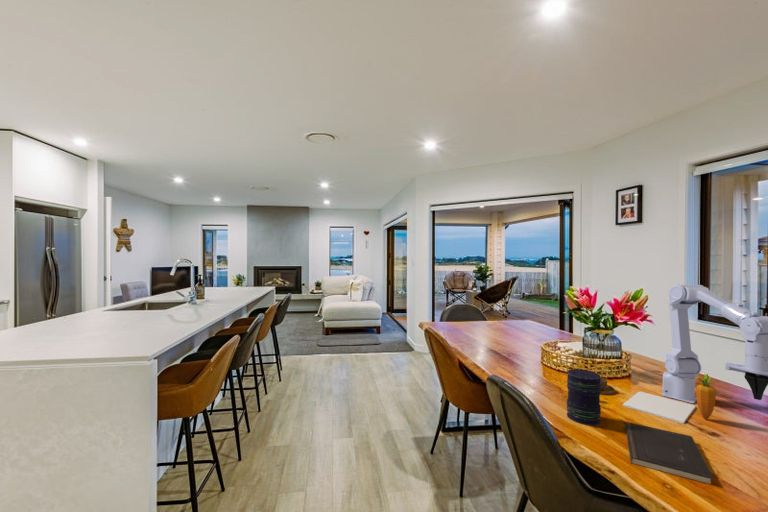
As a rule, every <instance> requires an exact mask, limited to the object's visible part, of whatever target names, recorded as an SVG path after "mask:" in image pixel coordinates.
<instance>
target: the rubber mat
mask: <svg viewBox="0 0 768 512" xmlns="http://www.w3.org/2000/svg"><path fill="white" fill-rule="evenodd" d="M696 406H697V405H694V404H692V403H690V404H689V403H688V402H684V401H680V400H676V399H672V398H669V397H665V396H658V395H656V394H652V393H648V392H644V391H638V392H637V393H635V394H634V395H633V396H631V397H630V398H629V399H627V400H626V401H625V402H624V403H623V404H622V407H624V408H628V409H631V410H635V411H638V412H642V413H644V414H648V415H651V416H655V417H658V418H663V419H665V420H668V421H672V422H676V423H678V424H679V423H680V424H682V425H685V423H686V421H687V420H688V419H689V417H690V416H691V415H692V413H693V412H694V411H695V409H696V408H697V407H696Z"/></svg>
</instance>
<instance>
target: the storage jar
mask: <svg viewBox="0 0 768 512" xmlns="http://www.w3.org/2000/svg"><path fill="white" fill-rule="evenodd" d="M571 364H572V365H574V366H575V365H577V363H576V362H571ZM601 377H602V376H601V375H600V374H599V373H597V372H594V371H592V370H586V369H580V368H573V369H572V368H571V369H568V370H567V377H566V383H567V384H566V387H567V399H566V411H567V413H566V416H567V418H568V419H569V420H571V421H572V422H574V423H577V424H580V425H585V426H598V425H600V423H601V419H600V418H601V413H602V412H601V410H602V409H601V407H602V406H601V404H600V399H601V398H600V397H601V395H602V394H601V392H602V391H601V381H600V380H601Z"/></svg>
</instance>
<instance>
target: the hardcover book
mask: <svg viewBox="0 0 768 512" xmlns="http://www.w3.org/2000/svg"><path fill="white" fill-rule="evenodd" d="M625 432H626V438H627V446H628V451H629V458H630V459H629V460H630V464H634V465H638V466H641V467H644V468H645V467H646V468H648V469H649V468H650V469H653V470H656V471H660V472H664V473H668V474H671V475H674V476H679V477H683V478H685V479H689V480H690V479H691V480H693V481H698V482H701V483H704V484H705V483H706V484H708V485H712V484H711V483H712V480H714V477H713V475H712V473H711V471H710V469H709V467H708V465H707V464H706V463H707V462H706V461H705V459H704V457H703V456H702V454H701V451H700V449H699V448H698V445H697V444H696V442H695V439H694V438H693V436H692V435H689V434H683V433H678V432H674V431H669V430H665V429H660V428H655V427H652V426H647V425H642V424H637V423H634V422H626V423H625Z"/></svg>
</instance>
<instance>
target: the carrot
mask: <svg viewBox="0 0 768 512" xmlns="http://www.w3.org/2000/svg"><path fill="white" fill-rule="evenodd" d="M703 375H704V377H703V379H702V377H700V376H697V377H696V379H698V380H699V381H700V382H701V384H698V385H697V386H696V387H695V390H696V393H695V394H696V395H695V396H696V397H697V400H696V402H697V408H698V411H699V412H700V414H701V416H702V418H703V419H704V420H705V421H706V420H708V419H709V418H710V417H711V416H712V414H713V411H714V409H715V405H716V401H717V400H716V399H717V398H716V397H717V390H716V388H715V387H713V386H711V385H710V383H711V382H712V379H713V378H712V377H710V376H709V374H708V373H704V374H703Z"/></svg>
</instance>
